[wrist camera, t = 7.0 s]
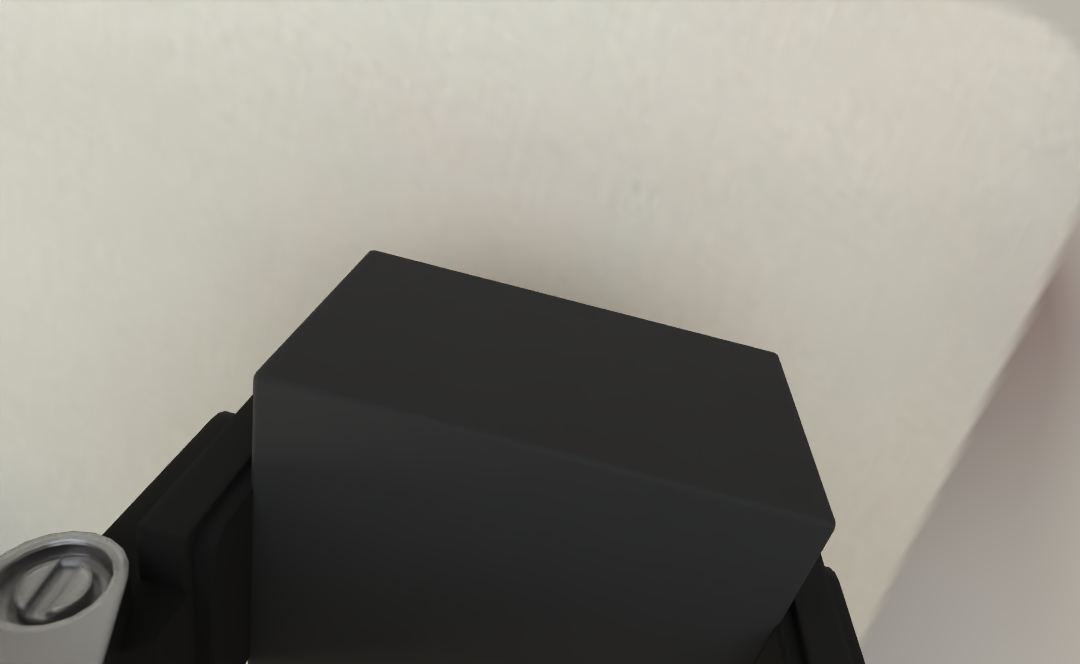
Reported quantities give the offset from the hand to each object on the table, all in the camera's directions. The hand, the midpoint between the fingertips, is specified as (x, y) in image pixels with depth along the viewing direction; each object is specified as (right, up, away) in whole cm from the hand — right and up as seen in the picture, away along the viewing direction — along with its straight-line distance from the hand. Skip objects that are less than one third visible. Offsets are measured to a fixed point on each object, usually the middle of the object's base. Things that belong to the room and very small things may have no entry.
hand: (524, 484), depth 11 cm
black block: (0, 0, +1) cm, 1 cm away
